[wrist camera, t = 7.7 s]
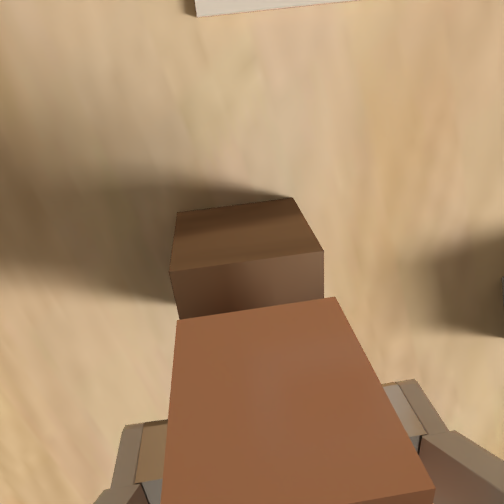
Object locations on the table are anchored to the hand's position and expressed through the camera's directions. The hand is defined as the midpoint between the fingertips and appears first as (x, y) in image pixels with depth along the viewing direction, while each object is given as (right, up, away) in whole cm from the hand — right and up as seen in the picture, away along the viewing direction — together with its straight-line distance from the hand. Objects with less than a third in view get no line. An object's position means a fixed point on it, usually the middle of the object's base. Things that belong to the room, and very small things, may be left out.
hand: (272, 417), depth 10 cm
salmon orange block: (0, +1, +2) cm, 2 cm away
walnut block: (-1, +4, +8) cm, 9 cm away
